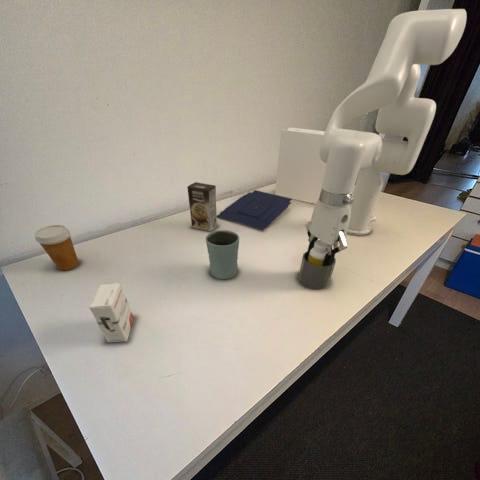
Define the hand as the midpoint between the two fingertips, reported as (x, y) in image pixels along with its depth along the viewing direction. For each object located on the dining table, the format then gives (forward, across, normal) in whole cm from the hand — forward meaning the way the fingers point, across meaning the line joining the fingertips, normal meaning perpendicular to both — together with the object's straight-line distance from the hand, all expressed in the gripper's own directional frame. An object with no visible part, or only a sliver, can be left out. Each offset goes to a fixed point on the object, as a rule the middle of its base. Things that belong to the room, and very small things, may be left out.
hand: (319, 258), depth 78 cm
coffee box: (+8, +51, +15) cm, 54 cm away
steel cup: (+8, 0, 0) cm, 8 cm away
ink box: (+8, +7, +58) cm, 59 cm away
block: (+8, +55, -45) cm, 71 cm away
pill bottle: (+6, 0, 0) cm, 6 cm away
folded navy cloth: (+8, +53, -12) cm, 55 cm away
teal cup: (+8, +18, +23) cm, 30 cm away
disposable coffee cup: (+8, +46, +67) cm, 82 cm away
